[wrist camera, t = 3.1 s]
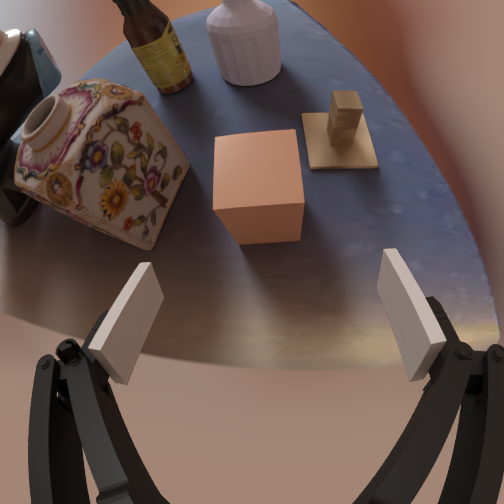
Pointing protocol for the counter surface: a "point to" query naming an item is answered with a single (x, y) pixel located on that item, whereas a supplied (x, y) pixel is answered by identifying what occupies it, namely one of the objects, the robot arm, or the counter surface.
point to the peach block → (259, 186)
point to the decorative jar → (102, 160)
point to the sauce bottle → (155, 45)
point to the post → (339, 135)
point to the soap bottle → (245, 41)
